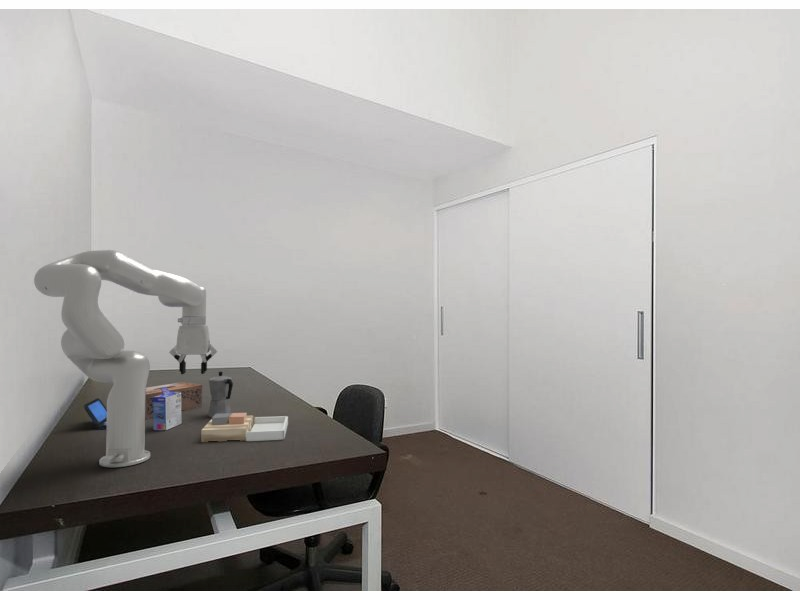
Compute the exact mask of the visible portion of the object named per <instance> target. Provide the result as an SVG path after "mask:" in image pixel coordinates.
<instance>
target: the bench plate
mask: <svg viewBox="0 0 800 600" xmlns="http://www.w3.org/2000/svg"><path fill="white" fill-rule="evenodd" d="M253 425H254V415H247V420H246V421H245V423H244V424H229V423H228V424H227V425H212V418H211V419H210V420H209V421H208V422H207V424H205V425H204V427H203V428H201V430H200V431H201V432H200V433H201V434H200V443H209V442H208V441H218V442H228V441H227V440H240V441H246V432H249V431H251V429H252V427H253Z"/></svg>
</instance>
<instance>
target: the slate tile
mask: <svg viewBox="0 0 800 600" xmlns="http://www.w3.org/2000/svg"><path fill="white" fill-rule="evenodd" d="M231 413H232V412H231ZM231 413H222V414H215V415H214V416H213V417H212V418H211V419H212V425H227V424H228V423H229V416H230V415H231Z"/></svg>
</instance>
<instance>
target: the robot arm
mask: <svg viewBox="0 0 800 600" xmlns="http://www.w3.org/2000/svg"><path fill="white" fill-rule="evenodd" d="M102 281H108V282H111V283H113V284H116V285H119V286H120V287H123V288H126V289H128V290H130V291H132V292H134V293H137V294H141V295H146V296H153V297H155V296H156V297H157V299H158V301H159V302H160V304H161V305H163V306H165V307H167V308H168V307H169V308H182V309H181V317H180V318H177V323H181V325H178V331H177V337H176V345H174V347H173V348H172V349H171V350H169V354H170V355H171V356H172V357H174V359H175V360H176V361H177V362H178V364H179V367H178V368H179V372H180V375H184V374H186V373H187V372H186V371H187V370H186V369H187V367H186V365H187V362H186V361H185V359H186V357H187V356H188V355H190V356H191V355H192V356H194V355H200V357H201V360H202V361H201V363H200V374H201V375H204V374H205V373H206V372H207V371H208V361H209V360H210V359H212V358H213V356H215V355H216V354H217V353H218V351H217V349H216V348H215V347H214V346H213V345H212V344H211V341H210V340H211V339H210V332H209V327H208V325H207V324H206V323H207V319H206V318H207V289H206V288H205V287H204V286H199V285H198V284H197V283H195V282H194V281H191V280H190V279H187V277H186V278H185V277H183V276H180V275H176V274H173V273H169V272H166V271H163V270H160V269H157V268H152V267H151V266H149V265H147V264H145V263H142V262H141V261H139V260H136V259H135V258H133V257H131V256H129V255H126V254H125V253H122V252H120V251H119V250H118V251H117V250H111V249H103V250H102V249H101V250H100V249H99V250H86V251H83V252H80V253H76V254H73V255H72V256H68V257H65V258H63V259H60V260H56V261H54V262H50V263H47V264H45V265H44V266H42V267H40V268H39V269H38V270H37V272H35V275H34V279H33V283H34V284H33V285H34V286H35V288H36V290H38V293H39V292H40V293H41V294H42V295H44V296H48V297H51V298H52V297H53V298H63V301H62V307H61V313H60V314H61V321H62V323H63V324H64V326H65V327H66V329H65V331H64V332H63V333H62V336H61V340H60V346H61V349H62V351H63V354H64V355H65V356H66V357H67V358H68V359H69V360H70V361H71V363H72V364H74V365H75V366H76V367H77V368H78V369H79V370H80V371H81V372H82V373H83V374H84V375H85V376H86V377H87V378H89V379H90V380H92V381H94V382H97V383H98V382H99V383H106V384H107V383H108V384H112V385H113V386H112V387H111V389H110V391H109V393H108V395H107V399H106V409H107V429H106V432H105V433H106V441H105V444H106V445H105V448H106V449H105V455H103V456H101V458H100V459H99V460H98V461H99V464H98V465H99V466H101V467H104V468H123V467H129V466H133V465H137V464H140V463H141V464H142V463H143V462H146V461H148V460H149V459H150V458H151V452H150V451H149V450H146V449H145V447H146V446H145V442H146V441H145V440H146V439H145V438H146V437H145V433H146V419H145V395H146V388H147V383H148V380H149V374H150V368H151V365H150V363H151V362H150V360H149V359H148V357H147V356H146V355H145V354H143V353H141V352H140V351H139V352H138V351H135V350H124V348H125V339H124V337H123V336H122V334H121V333H120V332H119V330H118V329H116V327H115V326H114V325H113V323H112V322H111V321H110V320H109V319H108V318H107V317H106V316H105V315H104V313H103V312H102V310H101V308H100V306H99V296H100V292H101V288H102ZM209 352H210V353H209ZM208 353H209V354H208ZM207 354H208V355H207Z"/></svg>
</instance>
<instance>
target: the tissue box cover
mask: <svg viewBox="0 0 800 600" xmlns="http://www.w3.org/2000/svg"><path fill="white" fill-rule="evenodd" d="M165 387H167V388H168V390H169V392H181V410H185V411H188V410H187V409H189V410H192V409H191V408H194V409H197V408H196V407H199V408H202V407H203V384H199V383H191V382H183V381H181V382H174V383H169V384H162V385H155V386H148V387H147V386H146V395H145V418H148V417H153V397H155V396H158V395H161V394H163V393H162V391H161V388H165ZM163 391H164V392H165V391H167V390H166V389H165V390H163ZM201 406H202V407H201ZM148 419H149V418H148Z"/></svg>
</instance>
